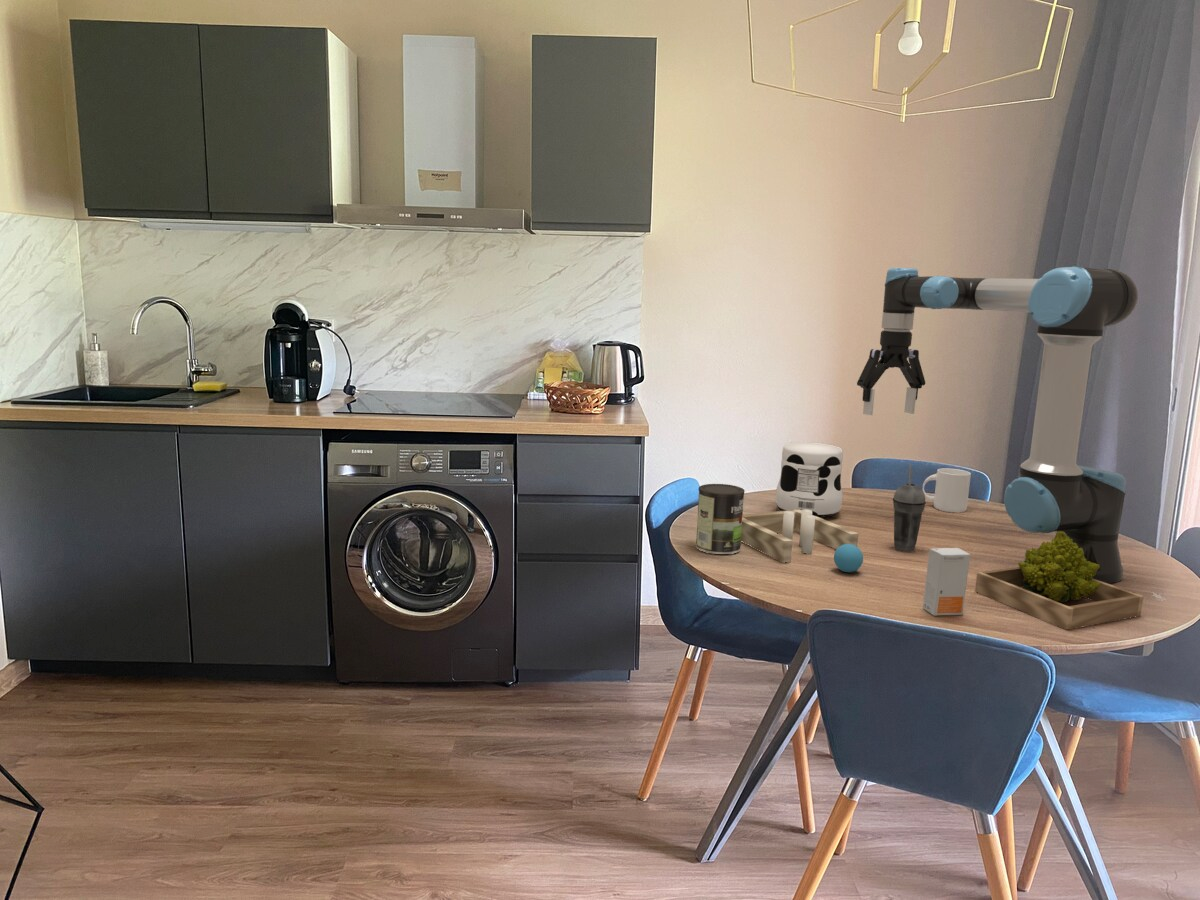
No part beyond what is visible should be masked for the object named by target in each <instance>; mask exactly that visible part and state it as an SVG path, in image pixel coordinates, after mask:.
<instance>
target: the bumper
mask: <svg viewBox="0 0 1200 900" xmlns="http://www.w3.org/2000/svg"><path fill="white" fill-rule="evenodd" d="M787 511H792V512H794V526H793V533H798V534H800V526H801V513H802V510H799V509H798V510H787ZM783 516H784V511H782V510H777V511H768V512H755V513H744V514H743V515H742V529H741V541H743V542H744V543H746V544H749V545H751V546H752V547H754V548H756V549H758V550H760V551H762V552H764V553H766V554H768V555H770V556H772V557H773V558H772V557H771V558H772V559H774V558H775V559H777V560H779V561H781V562H783V563H782V564H786V563H785V562H791V563H792V555H793V553H792V552H793V539H792V540H790V539H788V538H786V537H784V536H782V529H783ZM813 516H814V515H813ZM777 533H778V534H777ZM813 539H814V540H813V541H816V542H818V543H820V542H821V544H822V543H823V545H824V546H828V547H829V546H830V547H829V548H831V547H832V549H834V550H835V551H836V550H837V548H838V547H840V546H841V545H844V544H852V545H855V546H856V547H858V543H859V533H858V532H855V531H853V530H850V529H849V528H847V527H843V526H842V525H841V526H840V525H838V524H836V523H833V522H831V521H829V520H826V519H824V518H823V517H817V516H815V525H814V537H813ZM744 543H743V544H744ZM746 544H745V545H746ZM752 547H751V548H752ZM754 548H753V549H754ZM756 549H755V550H756ZM758 550H757V551H758ZM760 551H759V552H760ZM762 552H761V553H762ZM764 553H763V554H764ZM766 554H765V555H766ZM768 555H767V556H768ZM770 556H769V557H770ZM775 559H774V560H775ZM777 560H776V561H777ZM779 561H778V562H779ZM781 562H780V563H781Z"/></svg>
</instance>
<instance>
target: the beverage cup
mask: <svg viewBox="0 0 1200 900" xmlns="http://www.w3.org/2000/svg"><path fill="white" fill-rule="evenodd" d="M912 467H913V465H909V469H908V470H909V471H908V473H909V475H908V483H904V484H902V485H901V486H899V487H898V488H897V489H896V490H895V491H894V495H893V498H892V501H893V502H892V503H893V509H894V510H893V511H894V512H893V514H894V515H893V516H894V519H893V544H894V547H893V549H894V548H895V549H894V550H896V551H898V550H900V551H899V552H903V551H905V553H913V552H915V548H916V545H917V541H918V536H919V531H920V526H921V521H922V515H923V513H924V510H925V507H926V506H925V505H926V504H927V502H926V498H925V495H924V492H923V488H921V487H920V486H919V485H918V484H914V483H912ZM912 551H913V552H912Z"/></svg>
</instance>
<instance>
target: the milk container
mask: <svg viewBox="0 0 1200 900" xmlns="http://www.w3.org/2000/svg"><path fill="white" fill-rule="evenodd" d="M843 458H844V454H843V449H842V448H841V447H840V446H837V445H834V444H829V443H823V442H822V443H821V442H812V441H811V442H810V441H793V442H787V443H785V444H783V446H782V452H781V462H780V463H781V464H780V465H781V466H780V476H779V477H780V478H779V481H778V482H777V483H778V484H777V486H776V489H775V502H776V505H777V507H778V508H779V510H780V511H787V510H798V509H799V510H804V509H807V510H812V515H814V516H817V517H819V518H827V517H832V516H835V515H836V514H837V513H839V512H840V510H841V508H842V505H843V499H844V498H843V496H844V495H843V490H842V489H843V488H842V483H841V477H842V468H843V460H844V459H843Z"/></svg>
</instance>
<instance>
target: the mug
mask: <svg viewBox="0 0 1200 900" xmlns="http://www.w3.org/2000/svg"><path fill="white" fill-rule="evenodd" d="M971 475H972V473H971V472H970V471H967V470H964V469H958V468H948V467H947V468H937V471H936V473H934V474H931V475H929V476H927V477H926V478H925V480H924V481H923V483H922V490H923V492H924V495H925V500H928V501H930V502H931V503H933V507H934V508H935V509H936V510H938V509H939V510H938V511H941V510H942V511H941V512H945V511H947V512H946V513H952V512H961V513H964V512H966V511H967V509H968V502H969V494H970V485H971V484H970V483H971ZM930 481H935V489H934V490H935V491H934V495H929V494H927V493H926V491H925V486H926V484H927V483H928V482H930Z"/></svg>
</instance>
